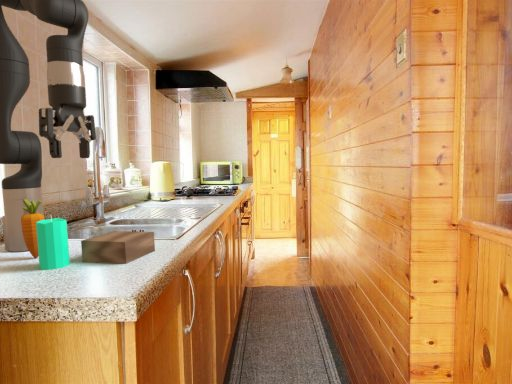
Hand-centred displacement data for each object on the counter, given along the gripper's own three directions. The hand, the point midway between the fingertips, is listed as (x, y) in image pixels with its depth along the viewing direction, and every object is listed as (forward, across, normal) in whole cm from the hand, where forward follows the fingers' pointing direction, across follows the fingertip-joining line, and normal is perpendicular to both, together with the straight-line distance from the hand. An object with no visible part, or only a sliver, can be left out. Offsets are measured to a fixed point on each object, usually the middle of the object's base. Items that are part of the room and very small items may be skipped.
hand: (71, 158), depth 80 cm
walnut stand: (+24, -7, +7) cm, 26 cm away
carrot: (+25, -2, -14) cm, 29 cm away
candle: (+25, +3, -3) cm, 25 cm away
